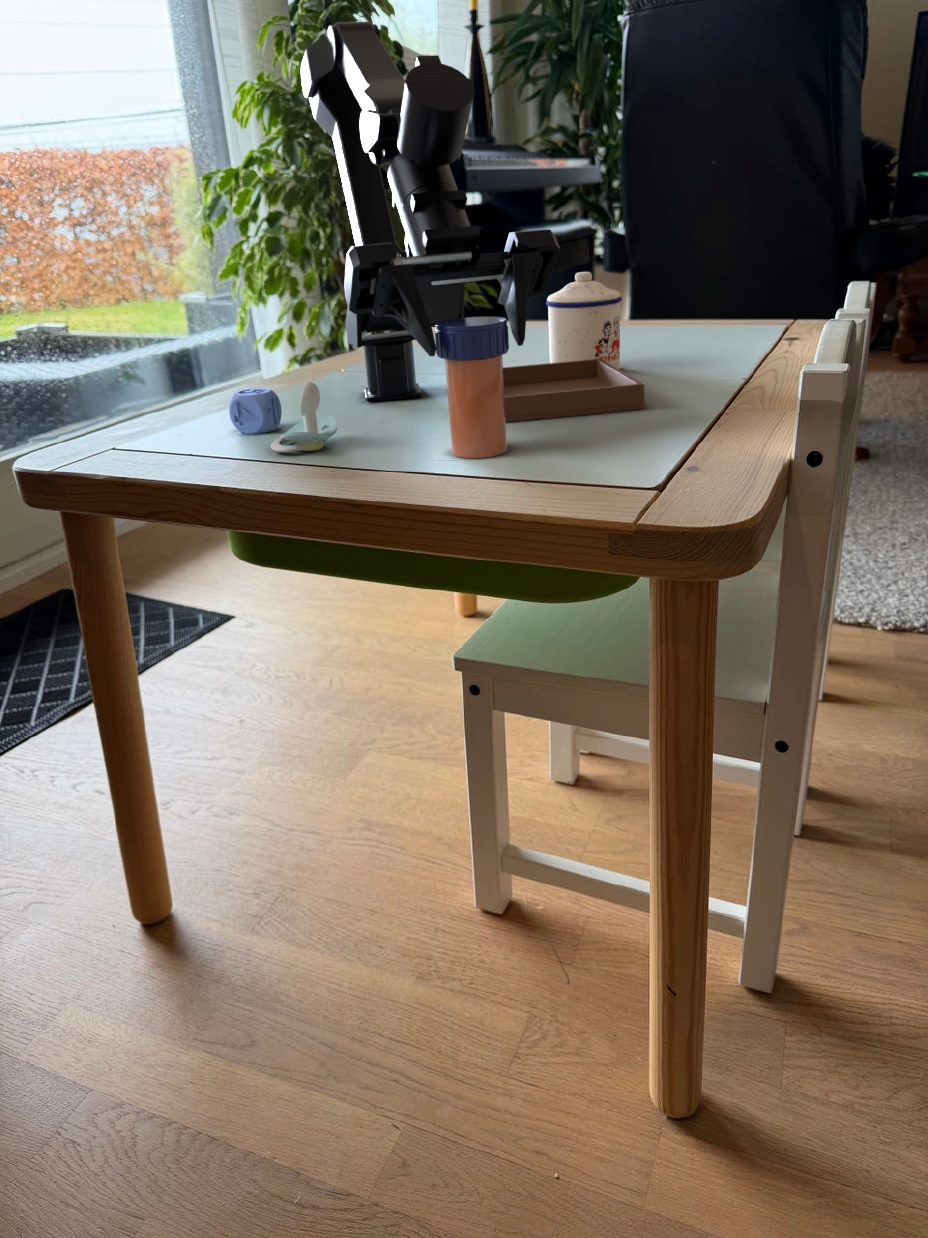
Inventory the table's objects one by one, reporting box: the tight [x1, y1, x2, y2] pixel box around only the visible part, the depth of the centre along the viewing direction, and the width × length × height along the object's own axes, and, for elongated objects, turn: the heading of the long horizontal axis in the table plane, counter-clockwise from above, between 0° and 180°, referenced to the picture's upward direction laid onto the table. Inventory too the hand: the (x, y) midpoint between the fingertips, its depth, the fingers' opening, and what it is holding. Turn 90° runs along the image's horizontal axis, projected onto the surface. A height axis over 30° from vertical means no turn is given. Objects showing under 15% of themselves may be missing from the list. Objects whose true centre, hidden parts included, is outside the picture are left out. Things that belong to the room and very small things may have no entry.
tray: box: [503, 359, 645, 423], centre depth 103 cm, size 17×15×2 cm
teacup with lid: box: [545, 271, 623, 370], centre depth 117 cm, size 12×9×12 cm
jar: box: [444, 355, 508, 459], centre depth 83 cm, size 5×5×11 cm
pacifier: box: [270, 380, 338, 454], centre depth 90 cm, size 7×6×6 cm
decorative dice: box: [228, 387, 283, 435], centre depth 99 cm, size 4×4×4 cm
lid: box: [434, 316, 510, 360], centre depth 82 cm, size 6×6×3 cm
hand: (478, 347), depth 81 cm, fingers open, 8 cm apart
